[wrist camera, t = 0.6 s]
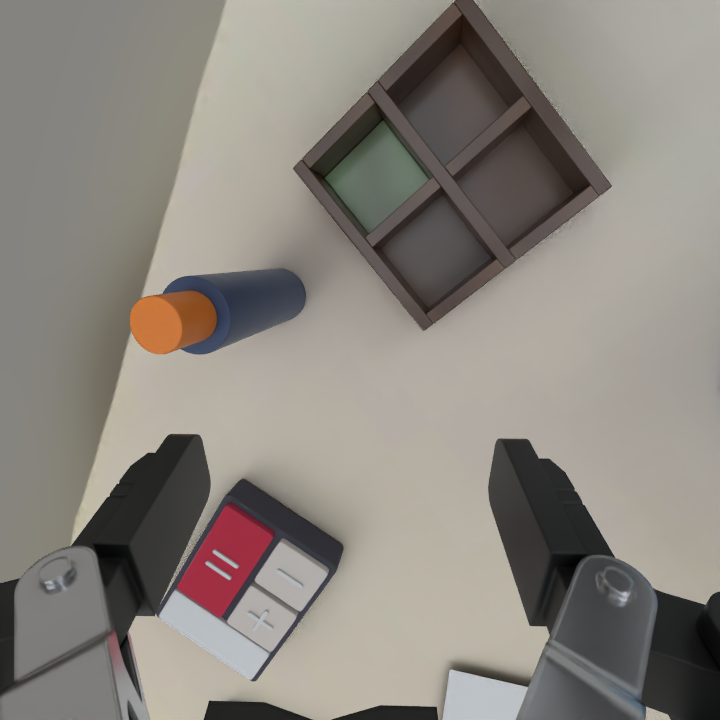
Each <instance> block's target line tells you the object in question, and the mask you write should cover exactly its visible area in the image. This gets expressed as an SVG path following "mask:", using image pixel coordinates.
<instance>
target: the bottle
mask: <svg viewBox="0 0 720 720" xmlns="http://www.w3.org/2000/svg"><path fill="white" fill-rule="evenodd" d="M304 303H305V289H304V286H303V284H302V282H301V280H300V279H299V278H298V277H297V276H296V275H295V274H294V273H293V272H291V271H289V270H286V269H267V270H255V271H243V272H231V273H219V274H207V275H195V276H185V277H181V278H178V279H176V280H175V281H173V282H172V283H170V284H169V285H168V286H167V288H166V289H165V290H164V292H163V294H160V295H153V296H147V297H144V298H142V299H140V300H139V301H138V302H137V303H136V304H135V305H134V307H133V309H132V311H131V314H130V327H131V331H132V334H133V336H134V338H135V339H136V341H137V342H138V343H139V344H140V345H141V346H142V347H143V348H144V349H146V350H147V351H149V352H152V353H155V354H166V353H170V352H172V351H175V350H178V349H182V350H184V351H186V352H188V353H192V354H207V353H211V352H213V351H216V350H218V349H220V348H223V347H225V346H227V345H230V344H232V343H235V342H237V341H239V340H242V339H244V338H247V337H249V336H251V335H254V334H256V333H259V332H261V331H263V330H266V329H268V328H271V327H273V326H275V325H278V324H280V323H283V322H285V321H287V320H290V319H292V318H294V317H295V316H297V315H298V314H299V313H300V311H301V310H302V308H303V306H304Z"/></svg>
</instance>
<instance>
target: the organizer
mask: <svg viewBox="0 0 720 720" xmlns="http://www.w3.org/2000/svg"><path fill="white" fill-rule="evenodd" d="M293 169H294V171H295V172H296V173H297V174H298V176H299V177H300V178H301V179H302V181H303V182H304V183H305V184H306V186H307V187H308V188H309V189H310V191H311V192H312V193H313V194H314V195H315V197H316V198H317V199H318V200H319V202H320V203H321V204H322V205H323V207H324V208H325V209H326V210H327V212H328V213H329V214H330V215H331V217H332V218H333V219H334V220H335V222H336V223H337V224H338V225H339V227H340V228H341V229H342V230H343V232H344V233H345V234H346V235H347V237H348V238H349V239H350V240H351V242H352V243H353V244H354V245H355V246H356V248H357V249H358V250H359V251H360V253H361V254H362V255H363V256H364V258H365V259H366V260H367V261H368V263H369V264H370V265H371V266H372V268H373V269H374V270H375V271H376V273H377V274H378V275H379V276H380V278H381V279H382V280H383V281H384V283H385V284H386V285H387V286H388V288H389V289H390V290H391V291H392V293H393V294H394V295H395V296H396V297H397V299H398V300H399V301H400V302H401V304H402V305H403V306H404V307H405V309H406V310H407V311H408V312H409V314H410V315H411V316H412V317H413V319H414V320H415V321H416V322H417V324H418V325H419V326H420V327H421V329H422V330H423V331H424V330H426V329H427V328H429V327H430V326H431V325H432V324H433V323H435V322H436V321H438V320H439V319H440V318H442V317H443V316H444V315H446V314H447V313H448V312H449V311H451V310H452V309H453V308H455V307H456V306H457V305H459V304H460V303H461V302H462V301H464V300H465V299H466V298H468V297H469V296H470V295H472V294H473V293H474V292H475V291H477V290H478V289H479V288H481V287H482V286H483V285H485V284H486V283H487V282H488V281H490V280H491V279H492V278H494V277H495V276H496V275H498V274H499V273H500V272H501V271H503V270H504V269H505V268H507V267H508V266H509V265H511V264H512V263H513V262H514V261H516V260H517V259H518V258H520V257H521V256H522V255H524V254H525V253H526V252H528V251H529V250H530V249H531V248H533V247H534V246H535V245H537V244H538V243H539V242H541V241H542V240H543V239H544V238H546V237H547V236H548V235H550V234H551V233H552V232H554V231H555V230H556V229H557V228H559V227H560V226H561V225H563V224H564V223H565V222H567V221H568V220H569V219H570V218H572V217H573V216H574V215H576V214H577V213H578V212H580V211H581V210H582V209H583V208H585V207H586V206H587V205H589V204H590V203H591V202H593V201H594V200H595V199H596V198H598V197H599V196H600V195H602V194H603V193H604V192H605V191H607V190H608V189H609V188H611V187H612V185H611V184H610V183H609V181H608V180H607V179H606V177H605V176H604V175H603V173H602V172H601V171H600V169H599V168H598V167H597V165H596V164H595V163H594V161H593V160H592V159H591V157H590V156H589V155H588V153H587V152H586V150H585V149H584V148H583V146H582V145H581V144H580V142H579V141H578V140H577V138H576V137H575V136H574V134H573V133H572V132H571V130H570V129H569V128H568V126H567V125H566V124H565V122H564V121H563V120H562V118H561V117H560V116H559V114H558V113H557V112H556V110H555V109H554V108H553V106H552V105H551V104H550V102H549V101H548V100H547V98H546V97H545V96H544V94H543V93H542V92H541V90H540V89H539V87H538V86H537V85H536V83H535V82H534V81H533V79H532V78H531V77H530V75H529V74H528V73H527V71H526V70H525V69H524V67H523V66H522V65H521V63H520V62H519V61H518V59H517V58H516V57H515V55H514V54H513V53H512V51H511V50H510V49H509V47H508V46H507V45H506V43H505V42H504V41H503V39H502V38H501V37H500V35H499V34H498V33H497V31H496V30H495V29H494V27H493V26H492V24H491V23H490V22H489V20H488V19H487V18H486V16H485V15H484V14H483V12H482V11H481V10H480V8H479V7H478V6H477V4H476V3H475V2H474V0H455V2H454V3H452V4H451V5H450V6H449V8H448V9H447V10H446V11H445V12H444V13H443V14H442V15H441V16H440V17H439V18H438V19H437V20H436V21H435V22H434V23H433V24H432V25H431V26H430V27H429V28H428V29H427V30H426V31H425V32H424V33H423V34H422V35H421V36H420V37H419V38H418V39H417V40H416V42H415V43H414V44H413V45H412V46H411V47H410V48H409V49H408V50H407V51H406V52H405V53H404V54H403V55H402V56H401V57H400V58H399V59H398V60H397V61H396V62H395V63H394V64H393V65H392V66H391V67H390V68H389V69H388V70H387V71H386V72H385V73H384V75H383V76H382V77H381V78H380V79H379V80H378V81H377V82H376V83H375V84H374V85H373V86H372V87H371V88H370V89H369V90H368V93H365V94H364V95H363V96H362V98H361V99H360V100H359V101H358V102H357V103H356V104H355V105H354V106H353V107H352V108H351V109H350V110H349V111H348V112H347V113H346V114H345V115H344V116H343V117H342V118H341V119H340V120H339V121H338V122H337V123H336V124H335V125H334V126H333V127H332V128H331V129H330V130H329V132H328V133H327V134H326V135H325V136H324V137H323V138H322V139H321V140H320V141H319V142H318V143H317V144H316V145H315V146H314V147H313V148H312V149H311V150H310V151H309V152H308V153H307V154H306V155H305V156H304V157H303V159H302V160H300V161H299V162H298V163H297V165H296V166H295V167H294V168H293Z"/></svg>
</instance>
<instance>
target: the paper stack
mask: <svg viewBox="0 0 720 720" xmlns="http://www.w3.org/2000/svg"><path fill="white" fill-rule="evenodd" d="M527 689H528V687H525V686H521V685H517V684H512V683H508V682H504V681H499V680H495V679H491V678H486V677H482V676H478V675H473V674H469V673H464V672H460V671H456V670H451V669H450V672H449V679H448V685H447V692H446V699H445V705H444V712H443V719H442V720H516V718H517V715H518V712H519V710H520V707H521V705H522V702H523V700H524V697H525V695H526V692H527Z"/></svg>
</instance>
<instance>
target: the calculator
mask: <svg viewBox="0 0 720 720" xmlns="http://www.w3.org/2000/svg"><path fill="white" fill-rule="evenodd" d="M342 552H343V545H342V544H340V543H339V542H338V541H336V540H335V539H333V538H332V537H330V536H329V535H327V534H326V533H324V532H323V531H321V530H320V529H318V528H317V527H315V526H314V525H312V524H311V523H309V522H308V521H306V520H305V519H303V518H302V517H300V516H299V515H297V514H296V513H294V512H293V511H291V510H290V509H288V508H287V507H285V506H284V505H282V504H281V503H279V502H278V501H276V500H275V499H273V498H272V497H270V496H269V495H267V494H266V493H264V492H263V491H261V490H260V489H258V488H257V487H255V486H254V485H252V484H251V483H249V482H248V481H246V480H240V481H239V482H238V483H237V484H236V485H235V486H234V487H233V488H232V489H231V490H230V492H229V493H228V494H227V495H226V496H225V497H224V499H223V500H222V502H221V504H220V505H219V507H218V509H217V510H216V512H215V514H214V515H213V517H212V519H211V521H210V522H209V524H208V526H207V527H206V529H205V531H204V532H203V534H202V536H201V537H200V539H199V541H198V542H197V544H196V546H195V547H194V549H193V551H192V552H191V554H190V556H189V557H188V559H187V561H186V562H185V564H184V566H183V567H182V569H181V571H180V572H179V574H178V576H177V578H176V579H175V581H174V583H173V584H172V586H171V588H170V589H169V591H168V593H167V594H166V596H165V598H164V599H163V601H162V603H161V604H160V606H159V608H158V610H157V612H156V615H157V616H158V617H159V618H160V619H161V620H162V621H164V622H165V623H167V624H168V625H170V626H171V627H173V628H174V629H175V630H177V631H178V632H180V633H181V634H183V635H184V636H186V637H187V638H189V639H190V640H191V641H193V642H194V643H196V644H197V645H199V646H200V647H202V648H203V649H205V650H206V651H208V652H209V653H210V654H212V655H213V656H215V657H216V658H218V659H219V660H221V661H222V662H224V663H225V664H226V665H228V666H229V667H231V668H232V669H234V670H235V671H237V672H238V673H240V674H241V675H242V676H244V677H246V678H247V679H249V680H251V681H256V680H257V679H258V678H259V676H260V675H261V674H262V672H263V671H264V669H265V668H266V667H267V665H268V664H269V663H270V661H271V660H272V659H273V657H274V656H275V654H276V653H277V652H278V650H279V649H280V648H281V646H282V645H283V643H284V642H285V641H286V639H287V638H288V637H289V635H290V634H291V633H292V631H293V630H294V628H295V627H296V626H297V624H298V623H299V622H300V620H301V619H302V617H303V616H304V615H305V613H306V612H307V611H308V609H309V608H310V606H311V605H312V604H313V602H314V601H315V600H316V598H317V597H318V596H319V594H320V593H321V591H322V590H323V589H324V587H325V586H326V585H327V583H328V582H329V580H330V579H331V578H332V576H333V575H334V574H335V572H336V570H337V568H338V565H339V562H340V559H341V555H342Z"/></svg>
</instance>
